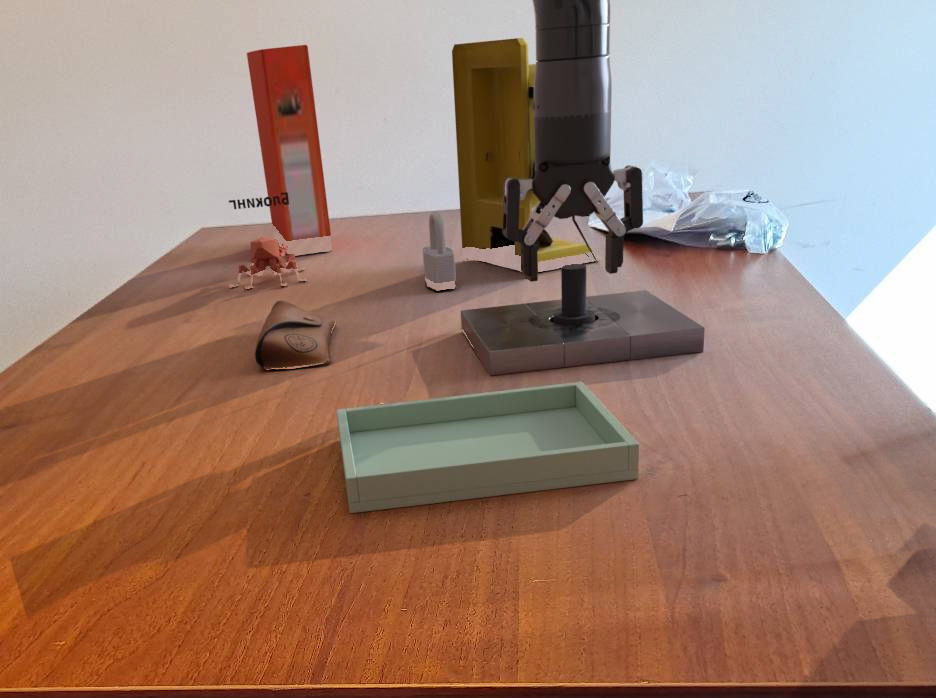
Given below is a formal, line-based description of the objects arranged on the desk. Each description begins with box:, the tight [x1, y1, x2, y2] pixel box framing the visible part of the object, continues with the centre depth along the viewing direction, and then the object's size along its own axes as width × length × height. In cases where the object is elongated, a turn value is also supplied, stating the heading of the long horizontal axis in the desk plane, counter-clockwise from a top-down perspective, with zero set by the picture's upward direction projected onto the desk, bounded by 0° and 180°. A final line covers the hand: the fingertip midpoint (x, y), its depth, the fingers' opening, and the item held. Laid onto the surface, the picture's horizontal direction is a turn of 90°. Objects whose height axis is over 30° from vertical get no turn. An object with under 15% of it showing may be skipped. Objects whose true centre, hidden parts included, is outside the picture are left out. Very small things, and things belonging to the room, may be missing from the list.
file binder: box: [246, 44, 332, 241], centre depth 167 cm, size 8×17×32 cm, turn 14°
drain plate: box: [460, 289, 706, 377], centre depth 106 cm, size 22×18×2 cm
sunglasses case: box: [254, 300, 336, 370], centre depth 113 cm, size 18×7×7 cm
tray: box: [336, 381, 640, 514], centre depth 78 cm, size 22×16×3 cm
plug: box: [553, 264, 595, 325], centre depth 104 cm, size 4×4×8 cm
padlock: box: [422, 211, 457, 283], centre depth 134 cm, size 7×4×10 cm, turn 11°
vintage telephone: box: [451, 37, 600, 266], centre depth 138 cm, size 31×14×30 cm, turn 26°
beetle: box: [228, 192, 297, 275], centre depth 148 cm, size 15×12×13 cm
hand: (572, 276), depth 103 cm, fingers open, 8 cm apart
